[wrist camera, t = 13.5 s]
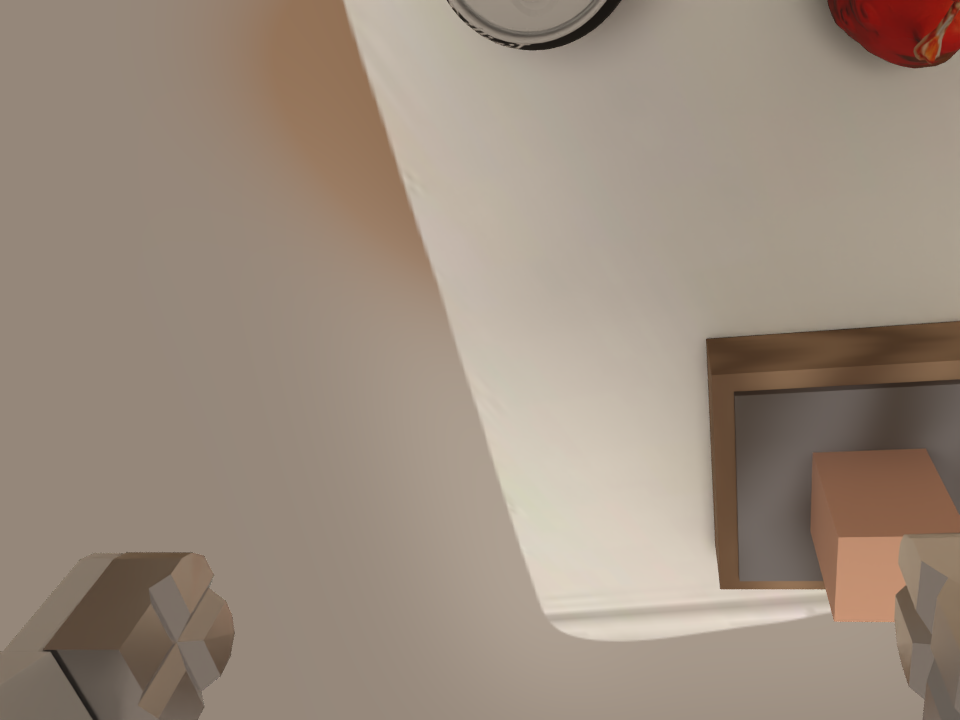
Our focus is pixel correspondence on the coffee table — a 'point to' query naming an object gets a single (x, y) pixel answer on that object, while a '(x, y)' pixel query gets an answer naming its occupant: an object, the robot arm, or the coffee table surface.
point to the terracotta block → (872, 524)
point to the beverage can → (533, 20)
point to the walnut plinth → (817, 431)
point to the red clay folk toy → (902, 28)
